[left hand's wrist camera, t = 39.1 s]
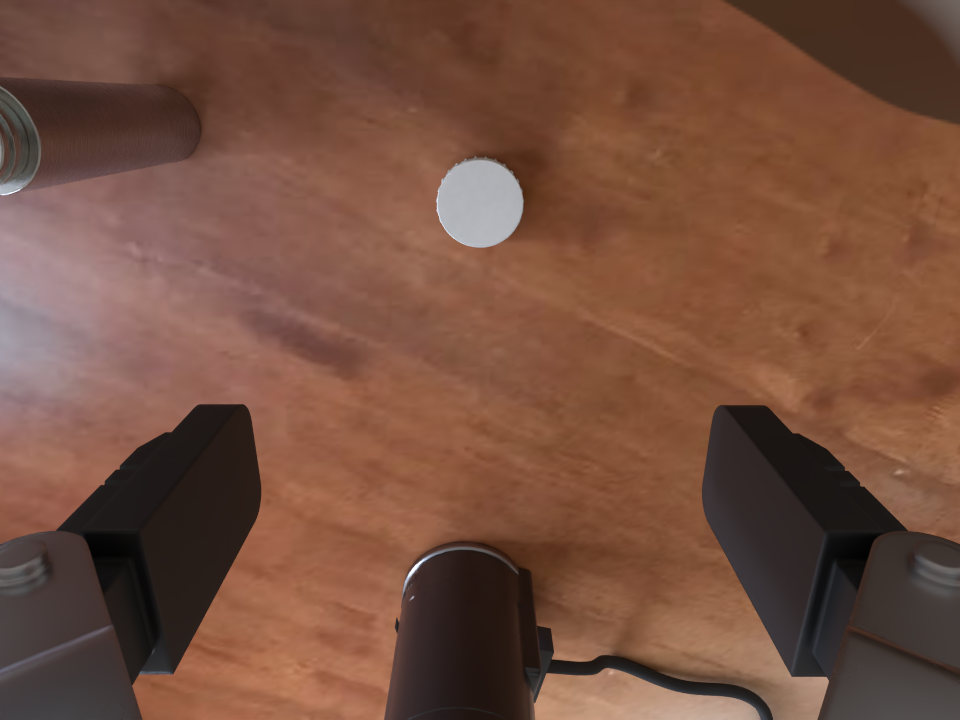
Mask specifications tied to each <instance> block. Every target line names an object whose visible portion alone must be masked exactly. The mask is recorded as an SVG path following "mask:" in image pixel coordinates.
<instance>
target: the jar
mask: <svg viewBox="0 0 960 720" xmlns="http://www.w3.org/2000/svg"><path fill="white" fill-rule="evenodd" d="M199 138H200V124H199V119H198V116H197V114H196V111H195V110H194V108H193V106H192V105H191V103H190V102H189V101H188V100H187V99H186V98H185V97H184V96H183V95H182V94H180V93H179V92H177V91H176V90H174V89H171V88H169V87H165V86H160V85H141V84H122V83H102V82H83V81H64V80H45V79H26V78H6V77H0V195H8V194H14V193H19V192H24V191H29V190H34V189H39V188H44V187H49V186H55V185H60V184H65V183H70V182H75V181H80V180H85V179H90V178H95V177H100V176H106V175H111V174H116V173H121V172H126V171H131V170H136V169H141V168H146V167H152V166H157V165H162V164H167V163H172V162H177V161H180V160H183V159H185V158H187V157H188V156H189V155H190V154H191V153H192V152H193V151H194V150H195V148H196V146H197V144H198V142H199Z"/></svg>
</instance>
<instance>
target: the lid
mask: <svg viewBox="0 0 960 720" xmlns="http://www.w3.org/2000/svg"><path fill="white" fill-rule="evenodd" d="M447 173H448V174H447V175H446V177H445V178H443V179H442V181H441V182H442V184H441V187H439V189H438V191H439V193H438V197H437V199H436V202H437V212H438V214H439V218H440V222H441V223H442V225H443V226H444V228H445V230H446V231H447V232H448V233H449V234H450V235H451V236H452V237H453V238H454V239H456V240H457V241H459V242H460V243H462V244H465V245H468V246H471V247H489V246H493V245H496V244H498V243H500V242H502V241H504V240H505V239H506V238H508V237H509V236H510V235H511V234H512V233H513V231H515V229H516V227H517V225H518V224H519V222H520V219H521V216H522V212H523V202H524V199H523V195H522V192H523V190H522V188H520V185H519V180H518V178H517V179H516V177H515V176H514V175H513V171H512V170H511V171H510V170H509V169H508V168H507V167H506V165H505V164H502V163H500V162H498V161H497V160H496V159H494V160H493V159H489V158H487V157H486V156H485V158H483V157H477V158H476V156H475V157H474V158H471V159H465V160H464V161H463V162H461V163H459V164H458V163H456V165H455V167H453V168H452V169H451V170H448V172H447Z"/></svg>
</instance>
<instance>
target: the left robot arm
mask: <svg viewBox="0 0 960 720" xmlns="http://www.w3.org/2000/svg"><path fill="white" fill-rule="evenodd" d="M702 500H703V507H704V512H705V516H706V519H707V521H708V523H709V525H710V527H711V529H712V530H713V532H714V534H715V536H716V538H717V540H718V542H719V543H720V545H721V547H722V549H723V551H724V553H725V554H726V556H727V558H728V560H729V562H730V564H731V565H732V567H733V569H734V571H735V573H736V575H737V577H738V578H739V580H740V582H741V584H742V586H743V588H744V589H745V591H746V593H747V595H748V597H749V599H750V600H751V602H752V604H753V606H754V608H755V610H756V612H757V613H758V615H759V617H760V619H761V621H762V623H763V624H764V626H765V628H766V630H767V632H768V634H769V635H770V637H771V639H772V641H773V643H774V645H775V647H776V648H777V650H778V652H779V654H780V656H781V658H782V659H783V661H784V663H785V665H786V667H787V669H788V670H789V672H790V674H791V676H792V677H827V678H828V680H829V684H828V687H827V691H826V694H825V697H824V701H823V704H822V707H821V710H820V714H819V717H818V720H960V544H958V543H955V542H953V541H950V540H947V539H944V538H941V537H938V536H934V535H930V534H925V533H920V532H912V531H908V530H907V529H906V528H905V527H904V526H903V525H902V524H901V523H900V522H899V521H898V520H897V519H896V518H895V517H894V516H893V515H892V514H891V513H890V512H889V511H888V510H887V509H886V508H885V507H884V506H883V505H882V504H881V503H880V502H879V501H878V500H877V499H876V498H875V497H874V496H873V495H872V494H871V493H870V492H869V491H868V490H867V489H866V488H865V487H860V482H859V481H858V480H857V479H856V478H855V477H854V476H853V475H852V474H851V473H850V472H849V471H845V467H844V466H843V465H842V464H841V463H840V462H839V461H838V460H837V459H836V458H835V457H834V456H833V455H832V454H831V453H830V452H829V451H828V450H827V449H825V448H824V447H822V446H820V445H818V444H816V443H815V442H813V441H811V440H809V439H808V438H806V437H804V436H802V435H800V434H793V433H792V432H791V431H790V430H789V429H788V428H787V427H786V426H785V425H784V424H783V423H782V422H781V420H780V419H779V418H778V417H777V416H776V415H775V414H774V413H773V412H772V411H771V410H770V409H769V408H768V407H767V406H765V405H720V406H718V407H717V409H716V410H715V412H714V415H713V419H712V425H711V431H710V438H709V445H708V451H707V458H706V465H705V471H704V478H703V485H702ZM260 502H261V481H260V474H259V468H258V461H257V454H256V447H255V441H254V434H253V427H252V421H251V416H250V412H249V410H248V408H247V407H246V406H245V405H243V404H199V405H197V406H196V407H195V408H194V409H193V410H192V411H191V412H190V413H189V414H188V415H187V416H186V417H185V418H184V420H183V421H182V422H181V423H180V424H179V425H178V426H177V427H176V428H175V429H174V430H173V431H172V432H165V433H164V434H162V435H160V436H158V437H156V438H155V439H153V440H151V441H149V442H147V443H146V444H144V445H142V446H140V447H138V448H137V449H136V450H135V451H134V452H133V453H132V454H131V455H130V456H129V457H128V458H127V459H126V460H125V461H124V462H123V463H122V464H121V465H120V469H119V470H115V471H114V472H113V473H112V474H111V475H110V476H109V477H108V478H107V479H106V480H105V485H101V486H100V487H99V488H98V489H97V490H96V491H95V492H94V493H93V494H92V495H91V496H90V497H89V498H88V499H87V500H86V501H85V502H84V503H83V504H82V505H81V506H80V507H79V508H78V509H77V510H76V511H75V512H74V513H73V514H72V515H71V516H70V517H69V518H68V519H67V520H66V521H65V522H64V523H63V524H62V525H61V526H60V527H59V528H58V529H57V530H56V531H48V532H40V533H35V534H30V535H26V536H22V537H19V538H16V539H13V540H10V541H7V542H5V543H2V544H0V720H142V717H141V714H140V710H139V707H138V704H137V701H136V697H135V694H134V691H133V687H132V685H133V683H134V682H135V680H136V678H137V677H138V675H139V674H174V672H175V670H176V668H177V666H178V664H179V663H180V661H181V659H182V657H183V655H184V653H185V651H186V649H187V648H188V646H189V644H190V642H191V640H192V638H193V636H194V635H195V633H196V631H197V629H198V627H199V625H200V623H201V622H202V620H203V618H204V616H205V614H206V612H207V610H208V608H209V607H210V605H211V603H212V601H213V599H214V597H215V595H216V594H217V592H218V590H219V588H220V586H221V584H222V582H223V580H224V579H225V577H226V575H227V573H228V571H229V569H230V567H231V566H232V564H233V562H234V560H235V558H236V556H237V554H238V553H239V551H240V549H241V547H242V545H243V543H244V541H245V539H246V538H247V536H248V534H249V532H250V530H251V528H252V526H253V525H254V523H255V521H256V519H257V516H258V512H259V508H260ZM401 608H402V609H401V615H400V621H399V622H398V619H397V618H396V624H395V629H396V632H397V641H396V647H395V653H394V660H393V666H392V673H391V679H390V686H389V692H388V699H387V705H386V711H385V718H384V720H535V710H534V703H535V702H536V699H537V697H538V694H539V691H540V689H541V686H542V683H543V680H544V678H545V675H546V673H554V674H566V675H594V674H597V673H599V672H600V671H602V670H603V669H605V668H612V669H617V670H620V671H623V672H626V673H629V674H631V675H634V676H636V677H639V678H641V679H643V680H646V681H648V682H651V683H653V684H656V685H658V686H661V687H664V688H667V689H670V690H673V691H677V692H681V693H687V694H695V695H710V696H725V697H732V698H737V699H740V700H743V701H745V702H747V703H749V704H751V705H752V706H753V707H755V708H756V710H757V711H758V713H759V715H760V718H761V720H773V717H772V714H771V711H770V709H769V707H768V706H767V704H766V703H765V702H764V701H763V700H762V699H761V698H760V697H759V696H758V695H757V694H755V693H754V692H752V691H750V690H748V689H745V688H743V687H739V686H736V685H730V684H721V683H703V682H692V681H685V680H681V679H677V678H673V677H670V676H667V675H664V674H661V673H659V672H656V671H654V670H651V669H649V668H647V667H644V666H642V665H640V664H637V663H635V662H632V661H630V660H627V659H624V658H620V657H616V656H610V655H602V656H598V657H597V658H595V659H594V660H592V661H588V662H573V661H563V660H552V656H553V654H554V649H553V641H552V634H551V629H550V628H546V627H540V626H537V622H536V613H535V603H534V594H533V585H532V576H531V572H530V571H528V570H523V569H520V568H518V567H517V566H516V565H515V564H514V562H513V561H512V560H511V559H510V558H508V557H507V556H506V555H505V554H503V553H502V552H500V551H498V550H496V549H494V548H492V547H489V546H486V545H483V544H478V543H471V542H457V543H450V544H445V545H441V546H439V547H436V548H434V549H432V550H430V551H428V552H426V553H425V554H423V555H422V556H421V557H420V558H418V559H417V560H416V561H415V562H414V564H413V565H412V566H411V568H410V569H409V571H408V573H407V575H406V578H405V582H404V587H403V599H402V606H401Z"/></svg>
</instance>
